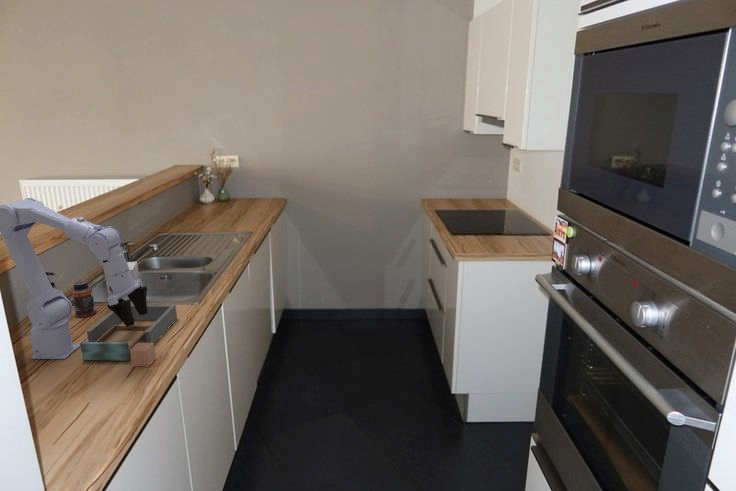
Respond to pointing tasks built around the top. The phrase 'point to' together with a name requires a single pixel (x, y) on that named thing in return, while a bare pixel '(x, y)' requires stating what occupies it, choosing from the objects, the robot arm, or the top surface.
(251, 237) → the top surface
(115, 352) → the tray
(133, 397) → the top surface
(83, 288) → the supplement bottle
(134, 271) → the supplement box
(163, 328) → the organiser housing
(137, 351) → the terracotta block
